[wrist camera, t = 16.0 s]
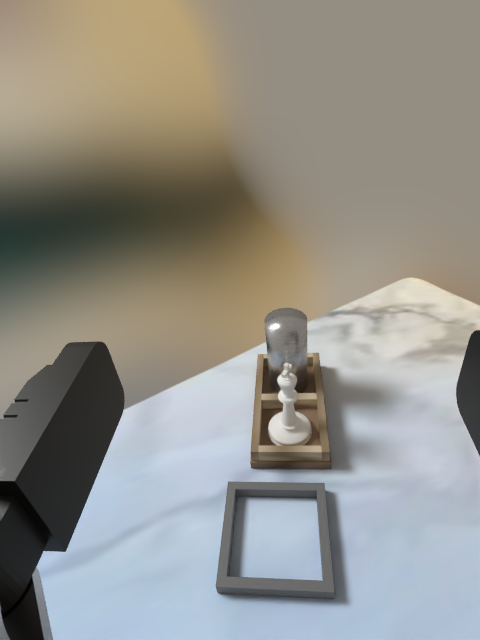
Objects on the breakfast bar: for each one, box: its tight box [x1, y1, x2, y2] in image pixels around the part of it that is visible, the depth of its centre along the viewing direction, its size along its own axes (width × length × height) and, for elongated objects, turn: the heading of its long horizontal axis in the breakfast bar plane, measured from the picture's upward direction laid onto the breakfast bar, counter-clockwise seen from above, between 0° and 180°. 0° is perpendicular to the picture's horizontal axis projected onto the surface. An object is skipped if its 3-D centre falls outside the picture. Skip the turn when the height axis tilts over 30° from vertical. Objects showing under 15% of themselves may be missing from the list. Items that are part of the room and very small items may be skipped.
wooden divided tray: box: [250, 353, 331, 469], centre depth 49 cm, size 8×16×2 cm, turn 175°
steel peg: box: [265, 308, 308, 394], centre depth 49 cm, size 5×5×10 cm
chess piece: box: [268, 363, 312, 446], centre depth 43 cm, size 5×5×10 cm
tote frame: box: [216, 482, 334, 599], centre depth 37 cm, size 10×10×1 cm
